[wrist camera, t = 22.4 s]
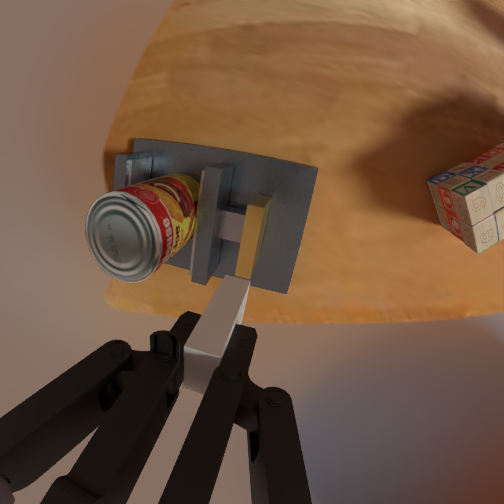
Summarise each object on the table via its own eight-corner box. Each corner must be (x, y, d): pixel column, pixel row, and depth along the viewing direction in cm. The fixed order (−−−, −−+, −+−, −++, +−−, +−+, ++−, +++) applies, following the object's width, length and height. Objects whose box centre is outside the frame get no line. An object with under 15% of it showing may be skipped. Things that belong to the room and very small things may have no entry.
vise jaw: (276, 173, 29) (269, 180, 24) (254, 276, 34) (245, 300, 28) (216, 162, 30) (197, 166, 24) (202, 263, 34) (184, 284, 29)
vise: (317, 167, 30) (321, 173, 24) (287, 288, 35) (283, 317, 29) (140, 138, 32) (109, 139, 26) (132, 248, 37) (106, 267, 31)
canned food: (183, 251, 34) (132, 300, 23) (138, 208, 33) (74, 239, 22) (223, 205, 31) (180, 239, 20) (173, 159, 31) (109, 171, 19)
